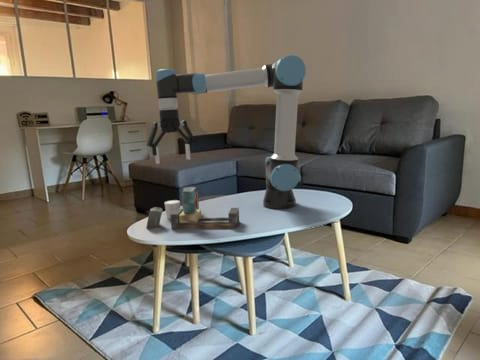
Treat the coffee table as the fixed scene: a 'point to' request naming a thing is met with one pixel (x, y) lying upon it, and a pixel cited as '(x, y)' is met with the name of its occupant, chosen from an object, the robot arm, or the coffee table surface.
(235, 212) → the rail
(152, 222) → the mineral specimen
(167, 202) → the white cup
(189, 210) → the carriage
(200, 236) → the coffee table surface
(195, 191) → the soda can
